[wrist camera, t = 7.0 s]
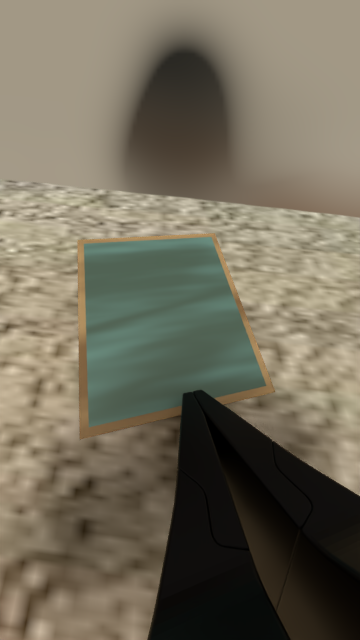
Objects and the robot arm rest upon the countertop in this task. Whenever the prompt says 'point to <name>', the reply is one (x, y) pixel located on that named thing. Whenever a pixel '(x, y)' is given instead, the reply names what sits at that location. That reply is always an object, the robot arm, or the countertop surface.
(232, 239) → the countertop surface
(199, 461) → the robot arm
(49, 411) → the countertop surface
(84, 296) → the tan and teal block
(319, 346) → the countertop surface
